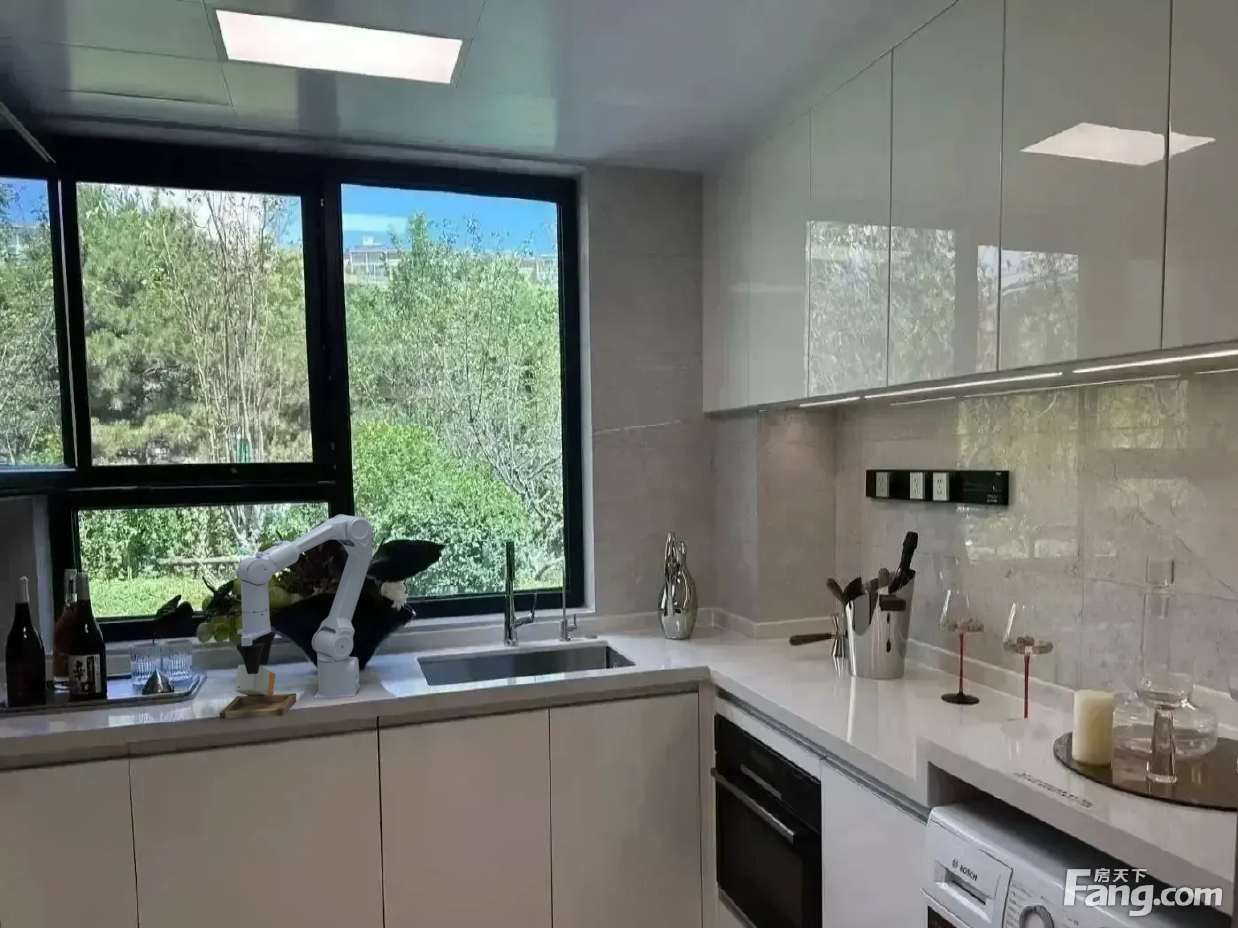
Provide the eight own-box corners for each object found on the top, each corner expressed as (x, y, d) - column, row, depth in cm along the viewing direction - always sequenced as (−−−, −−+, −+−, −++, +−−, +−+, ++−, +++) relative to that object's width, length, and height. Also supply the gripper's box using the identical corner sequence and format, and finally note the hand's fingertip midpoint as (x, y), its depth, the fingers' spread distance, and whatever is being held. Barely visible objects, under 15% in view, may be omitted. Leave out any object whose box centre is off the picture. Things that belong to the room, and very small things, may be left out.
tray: (296, 703, 195) (296, 693, 195) (283, 720, 183) (282, 709, 183) (237, 706, 193) (237, 696, 193) (220, 724, 182) (219, 713, 182)
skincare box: (273, 697, 198) (252, 690, 187) (256, 699, 198) (234, 691, 187) (276, 672, 201) (255, 663, 190) (259, 673, 200) (237, 664, 190)
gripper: (247, 603, 194) (249, 660, 194) (226, 618, 179) (228, 679, 180) (278, 602, 195) (280, 659, 195) (259, 617, 180) (261, 677, 181)
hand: (257, 668), depth 188 cm, fingers open, 6 cm apart
